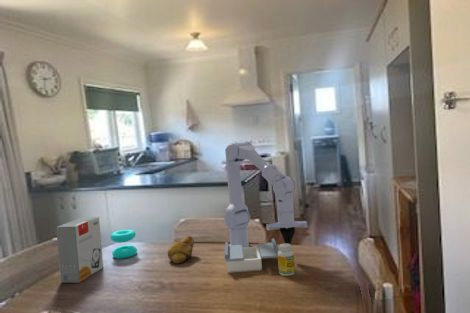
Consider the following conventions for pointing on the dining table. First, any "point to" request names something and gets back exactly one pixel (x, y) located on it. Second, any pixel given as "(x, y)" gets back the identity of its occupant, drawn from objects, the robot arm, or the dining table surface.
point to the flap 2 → (268, 249)
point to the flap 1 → (233, 252)
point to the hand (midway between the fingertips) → (288, 248)
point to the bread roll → (181, 250)
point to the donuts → (123, 250)
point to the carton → (246, 261)
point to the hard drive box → (79, 249)
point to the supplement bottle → (286, 260)
